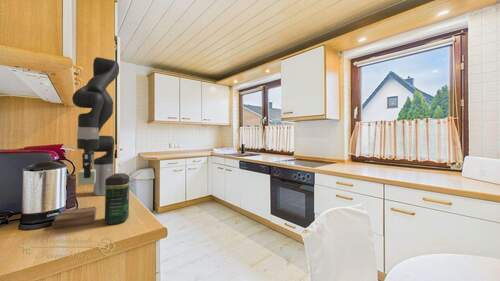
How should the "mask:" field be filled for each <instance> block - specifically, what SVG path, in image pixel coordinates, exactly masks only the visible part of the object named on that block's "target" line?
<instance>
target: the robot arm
mask: <svg viewBox="0 0 500 281" xmlns="http://www.w3.org/2000/svg"><path fill="white" fill-rule="evenodd" d="M92 68H93V69H92V70H93V71H92V72H93V75H92V76H93V77H91V78H89V80H88V82H87V83H86V85H84V86H82V87H80V88H78V89H77V90H76V91H74V93H73V94H72V97H71V98H72V103H73V105H74V106H76V107H77V108H82V109H90V111H89V112H85V113H80V114H78V116H77V132H76V136H77V137H76V141H77V143H76V148H77V149H78V150H83V153H81V161H82V162H81V164H82V167H81V168H82V170H84V178H90V177H91V169H96V181H95V184H93V195H94V196H105V180H106V178H108V177H109V176H112V175H114V153H115V152H114V151H115V139H114V137H113V136H111V135H100V133H101V129H103V126H104V125H105V124H106V123H107V121H109V120H110V118H111V117H112V115H113V113H114V101H113V98H112V97H111V95H110V94H109V92H108V90H107V87H108V86H109V85H110V84H111V83H113V81H114V80H116V79H117V78H118V76H119V74H120V64H119V62H117V61H116V60H114V59H108V58H104V57H100V56H99V57H98V56H95V58H94V59H93V63H92ZM95 153H104V155H102V156H100V157H97V158H95Z"/></svg>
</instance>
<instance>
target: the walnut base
mask: <svg viewBox="0 0 500 281" xmlns="http://www.w3.org/2000/svg"><path fill="white" fill-rule="evenodd" d="M97 212H98V211H97V207H96V206H89V207H88V206H87V207H81V208H75V209H73V210H66V211H64V212H63V213H61V214H59V213H58V214H59V215H58V214H57V216H56V217H55V219H54V220H53V222H52V223H51V230H52V229H55V230H60V229H59V228H61V229H66V228H65V227H67V228H73V227H79V226H84V225H90V224H95V221H96V217H97Z"/></svg>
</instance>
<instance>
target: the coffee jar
mask: <svg viewBox="0 0 500 281" xmlns="http://www.w3.org/2000/svg"><path fill="white" fill-rule="evenodd" d="M104 196H105V197H104V223H105V224H108V225H118V224H120V223H124V222H126V221H127V220H128V218H129V215H130V214H129V213H130V210H129V209H130V176H129V175H128V174H127V173H126V172H125V173H123V172H121V173H120V172H119V173H113V175H112V176H109V177H108V178H106V180H105V195H104Z"/></svg>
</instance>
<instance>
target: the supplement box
mask: <svg viewBox="0 0 500 281" xmlns="http://www.w3.org/2000/svg"><path fill="white" fill-rule="evenodd" d="M66 174H67V185H66V190H67V200H66V209H67V210H72V209H77V203H76V202H77V197H76V196H77V193H76V192H77V184H76V183H77V181H76V180H77V177H76V176H77V175H76V173H75V174H73V173H66ZM74 197H75V198H74ZM75 199H76V200H75Z"/></svg>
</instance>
